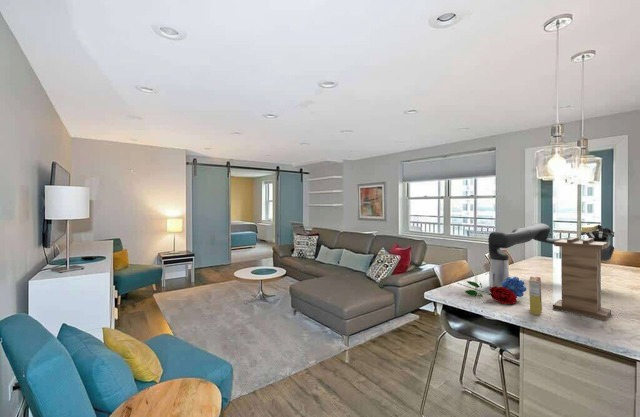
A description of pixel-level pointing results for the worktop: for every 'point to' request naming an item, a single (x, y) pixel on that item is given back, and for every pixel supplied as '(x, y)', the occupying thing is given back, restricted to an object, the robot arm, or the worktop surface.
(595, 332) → the worktop surface
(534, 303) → the candy box
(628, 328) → the worktop surface
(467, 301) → the worktop surface
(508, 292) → the flower
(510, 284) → the grapes
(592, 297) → the walnut post
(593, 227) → the bar
